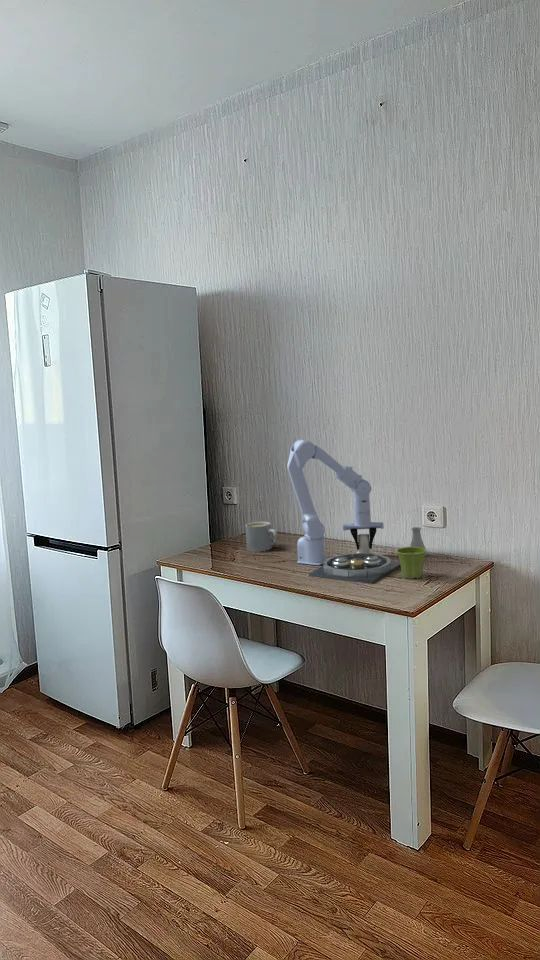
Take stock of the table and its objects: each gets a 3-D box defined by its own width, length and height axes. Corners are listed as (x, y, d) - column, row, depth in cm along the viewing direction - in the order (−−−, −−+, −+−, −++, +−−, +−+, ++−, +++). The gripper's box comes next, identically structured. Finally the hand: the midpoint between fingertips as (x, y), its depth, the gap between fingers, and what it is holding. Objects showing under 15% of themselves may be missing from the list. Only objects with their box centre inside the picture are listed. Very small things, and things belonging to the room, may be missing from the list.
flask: (422, 558, 241) (421, 530, 239) (403, 556, 245) (402, 529, 244) (431, 553, 246) (430, 526, 245) (412, 552, 251) (411, 525, 249)
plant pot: (406, 571, 227) (405, 545, 226) (432, 574, 221) (431, 548, 220) (392, 578, 220) (390, 552, 219) (418, 582, 214) (417, 555, 213)
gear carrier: (309, 575, 229) (308, 565, 229) (343, 558, 248) (343, 549, 248) (372, 583, 216) (372, 572, 215) (404, 564, 235) (403, 554, 234)
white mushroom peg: (353, 557, 248) (352, 536, 247) (361, 553, 253) (360, 532, 252) (368, 559, 245) (367, 537, 244) (375, 555, 250) (374, 533, 249)
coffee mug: (241, 550, 272) (239, 525, 270) (259, 544, 279) (257, 520, 278) (266, 554, 263) (264, 528, 261) (283, 548, 270) (281, 523, 269)
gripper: (381, 508, 250) (383, 545, 252) (341, 510, 251) (344, 546, 253) (383, 512, 243) (385, 549, 245) (342, 514, 245) (344, 551, 246)
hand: (364, 548), depth 249 cm, fingers closed on white mushroom peg, 4 cm apart
